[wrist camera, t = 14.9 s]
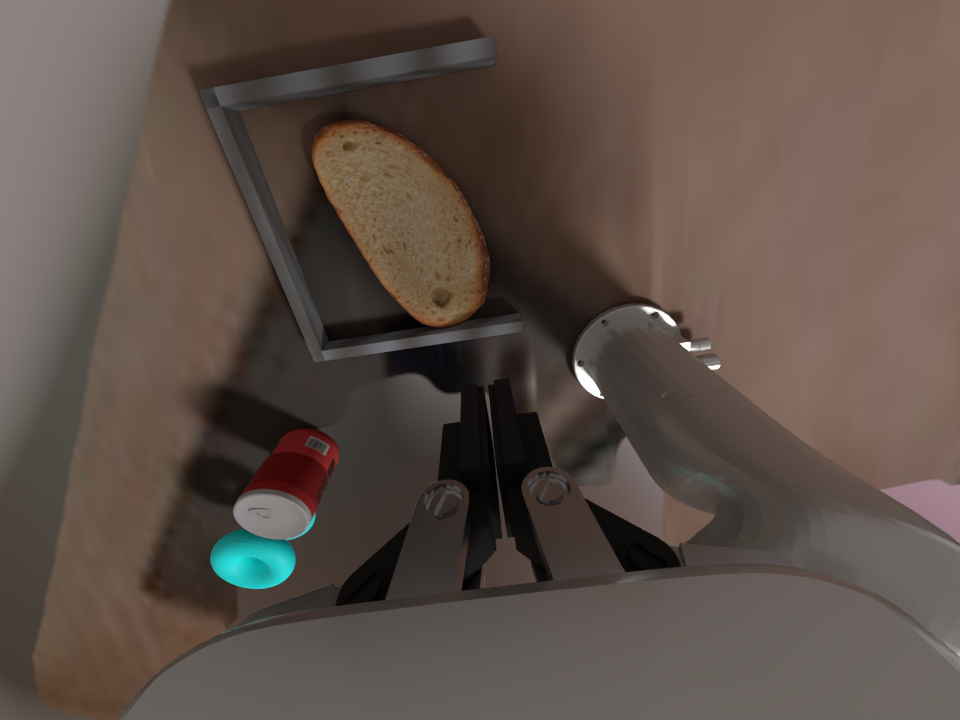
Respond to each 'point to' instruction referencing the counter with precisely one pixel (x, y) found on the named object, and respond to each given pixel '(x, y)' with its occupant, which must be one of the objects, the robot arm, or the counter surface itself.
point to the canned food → (288, 485)
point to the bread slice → (405, 220)
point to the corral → (263, 209)
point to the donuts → (253, 559)
